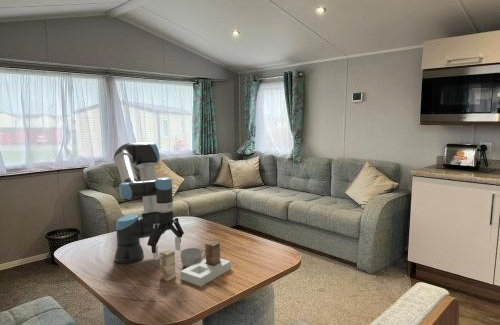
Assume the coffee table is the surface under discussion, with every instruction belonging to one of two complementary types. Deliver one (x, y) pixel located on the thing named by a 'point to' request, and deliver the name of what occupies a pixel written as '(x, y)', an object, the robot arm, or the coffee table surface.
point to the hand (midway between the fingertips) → (167, 254)
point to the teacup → (191, 256)
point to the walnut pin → (212, 253)
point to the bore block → (204, 272)
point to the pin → (167, 264)
